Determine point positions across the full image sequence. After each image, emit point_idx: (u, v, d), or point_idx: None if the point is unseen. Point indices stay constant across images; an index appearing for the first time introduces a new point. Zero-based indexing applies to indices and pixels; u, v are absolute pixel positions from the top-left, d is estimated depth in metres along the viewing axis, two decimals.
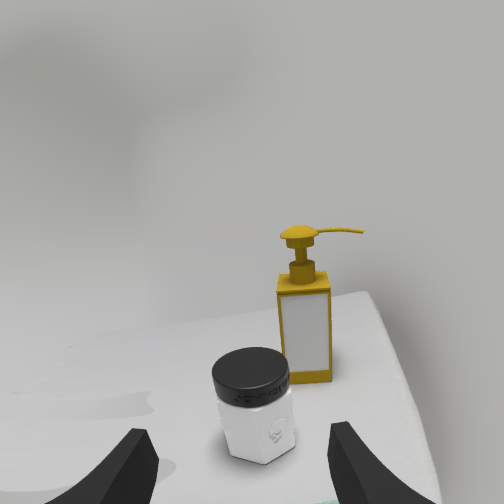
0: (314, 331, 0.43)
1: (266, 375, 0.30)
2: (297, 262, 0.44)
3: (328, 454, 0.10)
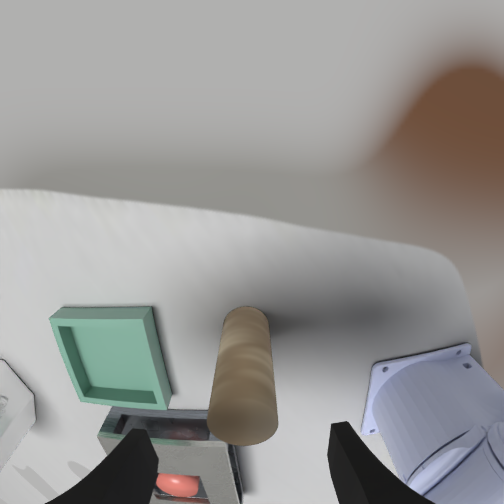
0: None
1: None
2: None
3: (328, 454, 0.10)
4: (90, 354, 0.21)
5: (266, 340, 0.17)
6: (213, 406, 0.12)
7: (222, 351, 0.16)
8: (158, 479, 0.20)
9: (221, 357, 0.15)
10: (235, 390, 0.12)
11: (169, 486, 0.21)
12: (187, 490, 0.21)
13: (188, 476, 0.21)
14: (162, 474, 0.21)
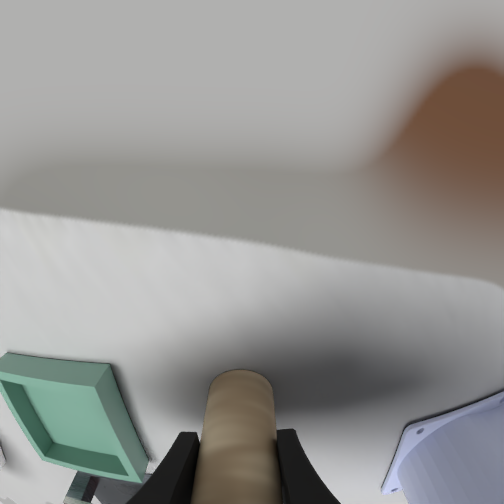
0: None
1: None
2: None
3: None
4: (45, 409, 0.14)
5: (270, 430, 0.10)
6: None
7: (204, 454, 0.09)
8: None
9: (202, 465, 0.09)
10: None
11: None
12: None
13: None
14: None
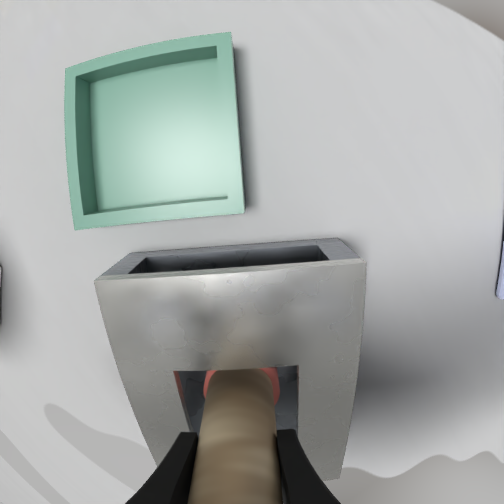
0: None
1: None
2: None
3: None
4: (112, 138, 0.13)
5: (272, 427, 0.10)
6: None
7: (206, 445, 0.09)
8: (209, 376, 0.14)
9: (204, 457, 0.09)
10: None
11: None
12: None
13: None
14: None
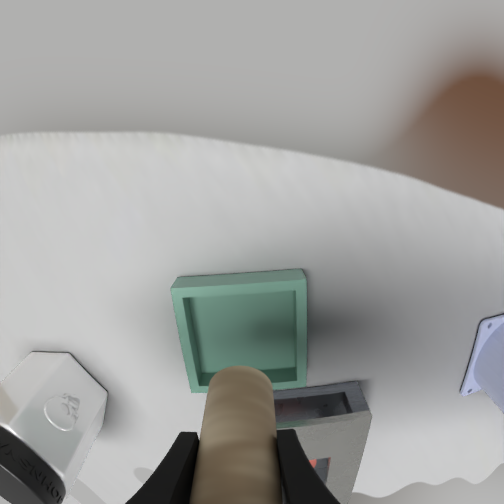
0: None
1: (10, 479, 0.10)
2: None
3: None
4: (211, 332, 0.20)
5: (271, 428, 0.10)
6: None
7: (205, 448, 0.09)
8: None
9: (203, 460, 0.09)
10: None
11: None
12: None
13: None
14: None
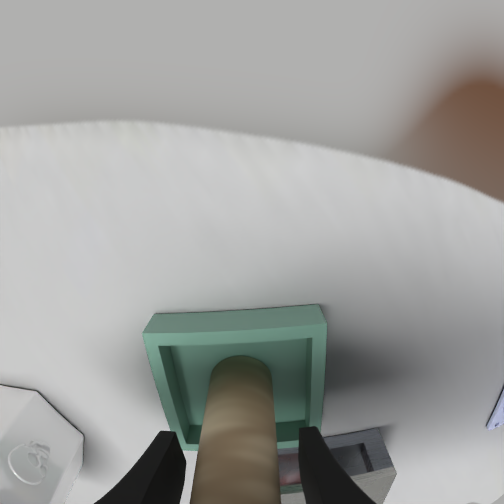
0: None
1: None
2: None
3: (298, 458, 0.10)
4: (200, 382, 0.15)
5: (270, 416, 0.11)
6: None
7: (207, 435, 0.10)
8: None
9: (205, 446, 0.09)
10: None
11: None
12: None
13: None
14: None
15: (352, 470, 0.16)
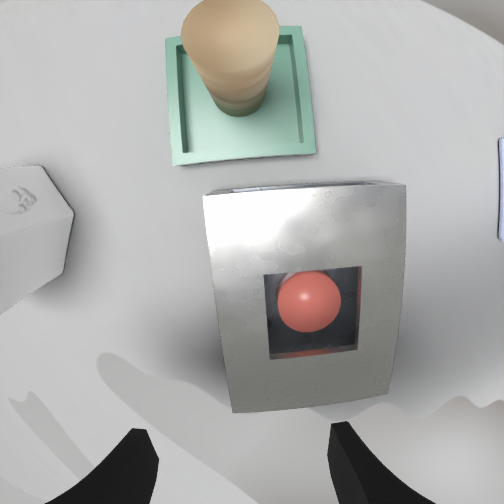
0: None
1: None
2: None
3: (328, 454, 0.10)
4: (203, 98, 0.17)
5: None
6: (195, 8, 0.08)
7: None
8: (284, 289, 0.17)
9: None
10: None
11: (298, 304, 0.17)
12: (324, 310, 0.18)
13: (329, 277, 0.18)
14: (291, 278, 0.17)
15: None
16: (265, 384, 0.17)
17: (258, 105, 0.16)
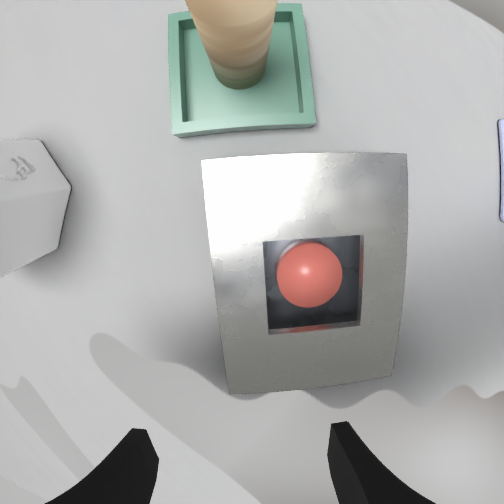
0: None
1: None
2: None
3: (328, 454, 0.10)
4: (204, 71, 0.16)
5: None
6: None
7: None
8: (284, 260, 0.17)
9: None
10: None
11: (298, 277, 0.17)
12: (325, 284, 0.17)
13: None
14: (291, 249, 0.17)
15: None
16: (263, 362, 0.17)
17: (258, 77, 0.15)
